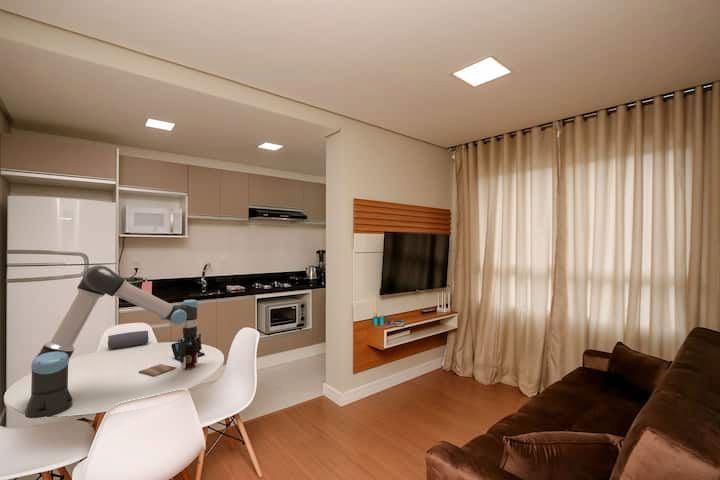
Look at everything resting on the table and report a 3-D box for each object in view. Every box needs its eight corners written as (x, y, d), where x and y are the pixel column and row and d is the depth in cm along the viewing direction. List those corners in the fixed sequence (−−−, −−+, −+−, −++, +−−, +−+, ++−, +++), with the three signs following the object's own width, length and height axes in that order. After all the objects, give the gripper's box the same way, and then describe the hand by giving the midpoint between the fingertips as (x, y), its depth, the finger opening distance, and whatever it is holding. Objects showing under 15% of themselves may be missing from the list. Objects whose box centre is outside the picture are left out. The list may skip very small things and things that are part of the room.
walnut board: (154, 376, 180) (154, 375, 180) (138, 372, 185) (138, 371, 185) (175, 368, 192) (175, 367, 192) (160, 365, 197) (160, 363, 197)
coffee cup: (190, 370, 189) (190, 348, 189) (177, 369, 191) (177, 347, 191) (200, 365, 198) (200, 343, 198) (188, 364, 199) (188, 342, 199)
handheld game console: (182, 362, 203) (183, 347, 203) (170, 358, 209) (170, 344, 210) (205, 355, 216) (206, 341, 217) (193, 351, 223) (193, 338, 223)
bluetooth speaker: (146, 342, 243) (146, 328, 243) (148, 345, 236) (148, 331, 236) (107, 348, 228) (108, 333, 228) (108, 351, 221) (108, 336, 221)
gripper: (178, 331, 184) (178, 372, 183) (208, 323, 202) (208, 360, 202) (169, 329, 187) (168, 370, 186) (200, 322, 205) (199, 359, 205)
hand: (189, 365), depth 194 cm, fingers closed on coffee cup, 7 cm apart
